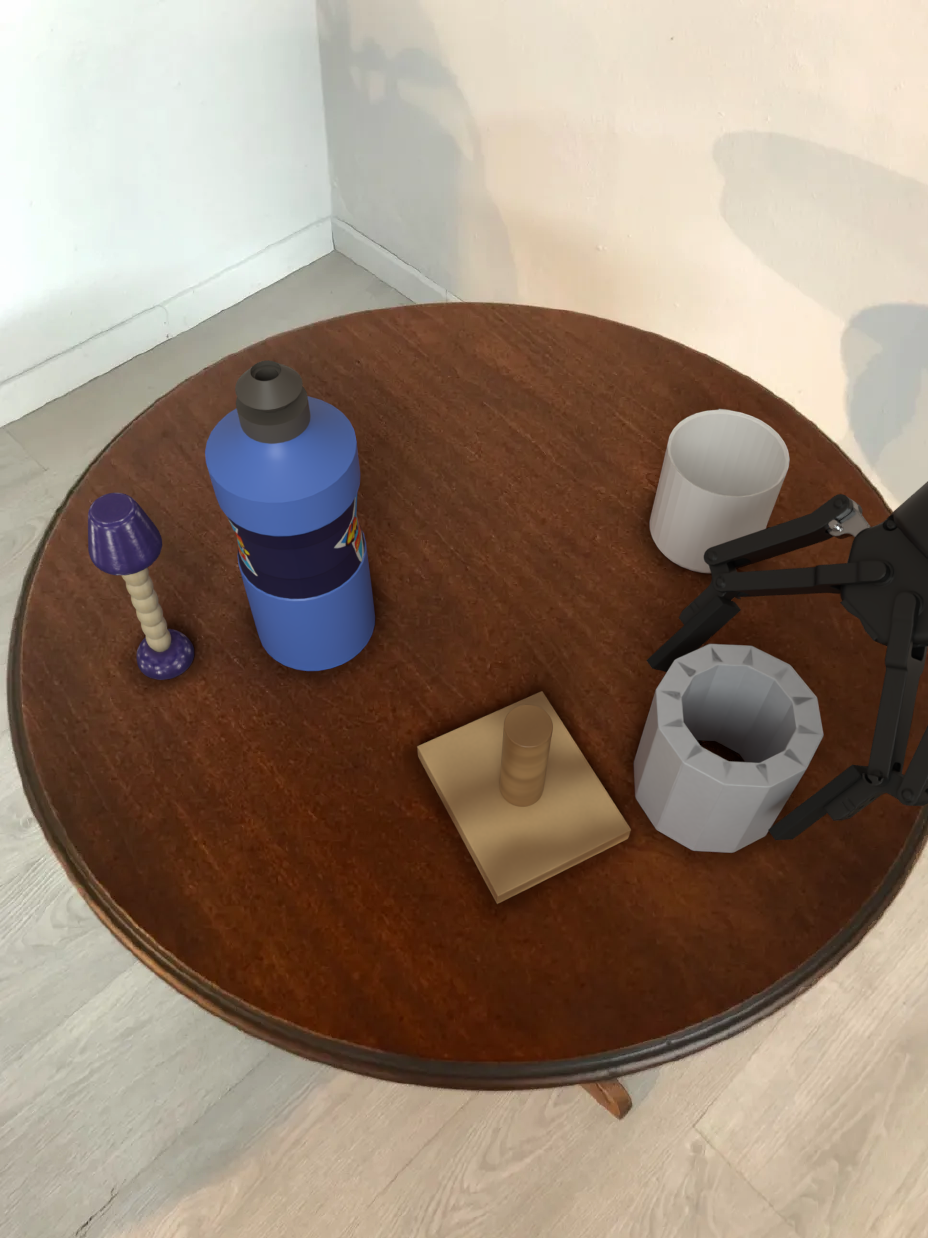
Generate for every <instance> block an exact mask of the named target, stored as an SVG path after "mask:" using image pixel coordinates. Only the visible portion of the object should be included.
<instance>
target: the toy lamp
mask: <svg viewBox="0 0 928 1238" xmlns="http://www.w3.org/2000/svg"><path fill="white" fill-rule="evenodd" d="M89 506H90V507H89V508H88V513H87V547H88V548H87V550H88V555H89V559H90V561H91V562H92V563H93V565H94V566H95V567H96V568H97V569H98V570H100V571H101V572H103V573H106V574H108V575H110V576H111V575H112V576H121V578H122V579H123V580H124V582H125V588H126V590H127V592H128V594H129V595H130V601H131V605H132V606H133V607H134V609H135V612H136V613H135V614H136V617H137V620H138V621H139V622H140V627H141V631H142V632H143V634H144V635H145V637H144V638H143V639H142V640H141V641H140V643H139V644H138V647H137V650H136V663H137V667H138V669H139V671H140V673H142V674H143V675H144V676H145V677H148V678H150V679H153V680H158V681H164V680H172V679H174V678H177V677H179V676H181V675H182V674H183V673H185V672H186V671H187V670H188V669H189V668H190V667H191V665H192V663H193V661H194V660H195V659H194V658H195V648H194V645H193V643H192V641H191V640H190V639H189V637H187V635H185V634H184V633H182V632H181V631H178V630H176V629H173V628H172V629H171V628H168V622H167V620H166V618H165V617H164V611H163V607H162V606H161V604H160V603H159V596H158V592H157V591H156V590H155V589H154V588H155V587H154V582H153V579H152V578H151V576H150V570H149V567H151V566H152V565H153V564H154V563H155V562H156V561H157V560H158V558H159V557H160V555H161V552H162V548H163V537H162V535H161V532H160V530H159V528H158V527H157V526H156V524H155V523H154V522H153V520H152V519H151V518H150V516H149V515H148V513H146V512H145V510H144V509H143V508H142V506H141V505H140V504H139V503H138V502H137V501H136V500H135V498H133V497H132V496H130V495H128V494H127V493H122V492H109V493H104V494H103V495H101V496H99V497H97V498H96V499H95V500H94V501H93V502H92V503H91V505H89Z"/></svg>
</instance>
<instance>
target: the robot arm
mask: <svg viewBox="0 0 928 1238" xmlns="http://www.w3.org/2000/svg"><path fill="white" fill-rule="evenodd" d="M850 537H854V538H853V540H852V543H851V546H850V550H849V554H848V558H847V561H846V562H843V563H828V564H817V565H815V566H809V567H808V566H807V567H794V568H781V569H780V568H779V569H767V570H766V569H764V570H752V571H751V570H749V571H738V569H741V568H745V567H747V566H751V565H753V564H757V563H760V562H763V561H767V560H770V559H772V558H773V559H774V558H776V557H779V556H782V555H786V554H788V553H791V552H794V551H797V550H801V549H803V548H807V547H810V546H813V545H816V544H820V543H823V542H826V541H828V540H830V539H832V538H836V539H838V540H844V539H847V538H850ZM704 561H705V562H706V563H707V564H708V565H709V568H710V571H711V573H710V574H711V580H710V583H709V585H708V586H707V587H706V588H705V589H704V590H703V591H702V592H701V593H700V594H699V595H698V596H697V597H695V598H694V599H693V601H691V602H690V603H689V604H688V605H686V607H685V608H684V609H683V610H682V611H681V612H680V614H679V616H678V619H679V621H680V622H681V623H682V626H681V627H680V629H678V630H677V631H676V632H675V633H674V634H673V635H672V636H671V637H669V639H668V640H666V641H665V642H664V643H663V644H662V645H661V646H660V647H659V648H658V649H657V650H656V651H654V653H652V654H651V655H650V656H649V657H648V658H647V659H646V660H645V661H646V662H647V664H648V665H649V666H650V668H651V669H652V670H656V671H660V672H664V673H665V672H666V673H667V671H668V670H669V668H670V666H671V665H672V663H673V662H674V660H675V659H677V658H680V657H682V656H684V655H686V654H688V653H691V652H693V651H695V650H697V649H700V648H702V647H703V646H704V644H706V642H708V641H709V640H710V639H711V638H712V637H713V636H714V635H715V634H716V633H718V632H719V631H720V630H721V629H722V628H723V627H724V626H725V625H727V624H728V623H729V622H730V621H731V620H732V619H734V618H735V617H736V616H737V615H738V614H739V613H740V612H741V611H742V609H741V608H740V607H739V605H738V604H737V603H736V601H733V600H734V599H737V600H741V599H742V598H754V597H775V596H793V595H794V596H795V595H814V594H815V595H816V594H834V595H839V596H840V600H841V601H840V602H839V603H840V605H841V606H842V607H843V608H844V609H845V610H846V611H847V612H848V613H849V614H850V615H852V616H854V617H855V618H857V619H858V620H859V622H860V623H861V625H862V627H863V630H864V632H865V633H866V634H867V635H868V636H869V637H870V639H871V640H872V641H873V642H875V643H878V644H880V645H882V646H885V647H886V651H885V656H884V665H885V666H884V667H885V673H884V677H883V684H882V689H881V694H880V699H879V705H878V710H877V716H876V721H875V726H874V732H873V737H872V742H871V748H870V749H871V750H870V754H869V759H868V765H861V764H851V765H850V766H848V767H847V768H846V769H844V770H843V771H842V772H840V773H839V774H838V775H837V776H835V777H834V778H833V779H831V780H830V781H829V782H828V783H826V784H825V785H823V786H822V787H821V788H819V790H818V791H816V792H815V793H814V794H812V795H811V796H809V797H808V798H807V799H806V800H805V801H803V802H802V803H800V804H799V805H798V806H797V807H795V808H794V809H793V810H791V811H790V812H789V813H788V814H786V815H785V816H784V817H783V818H781V819H780V820H779V821H777V822H776V823H775V824H773V825H772V826H771V828H770V829H768V833H769V834H770V835H771V836H772V838H773V839H774V841H790V840H794V839H795V838H797V837H798V836H799V835H801V834H802V833H804V831H806V830H807V829H809V828H810V827H811V826H813V825H814V824H815V823H817V822H818V821H819V820H820V819H822V818H823V817H824V816H826V815H828V816H829V817H830V819H831V820H832V822H833V821H834V822H836V821H839V822H842V821H845V820H849V819H852V818H853V817H854V816H855V815H857V814H858V813H860V812H861V811H862V810H864V809H865V808H866V807H868V806H869V805H871V804H872V803H873V802H875V800H877V799H878V798H880V797H881V796H882V795H884V794H888V795H889V796H891V797H893V798H894V799H896V800H898V802H899V803H900V804H902V805H903V806H906V807H907V806H908V807H924V806H926V805H928V725H926V728H925V730H924V732H923V734H922V736H921V738H920V741H919V742H918V745H917V747H916V749H915V752H914V754H913V756H912V758H911V760H910V762H909V764H908V766H907V768H906V771H905V773H904V774H903V770H904V765H905V764H904V763H905V758H906V753H907V748H908V743H909V737H910V732H911V727H912V721H913V716H914V711H915V705H916V699H917V694H918V687H919V684H920V683H919V682H920V678H921V675H923V672H924V669H925V665H926V664H925V663H926V660H927V654H928V481H926V482H925V483H924V484H923V485H921V486H920V487H919V488H918V489H917V490H916V491H915V492H913V494H911V495H910V496H909V497H908V498H907V499H906V500H905V501H903V502H902V503H901V504H900V505H899V506H897V508H895V509H894V510H893V511H892V512H891V513H890V515H889V516H888V517H887V518H886V519H885V520H884V521H882V522H879V523H878V524H876V525H872V526H871V525H870V524H869V522H868V521H867V519H866V518H865V517H864V516H863V508H862V506H861V505H860V504H859V503H857V502H856V501H855V500H853V499H851V498H850V497H849V496H847V495H846V494H843V493H837V494H835V495H833V496H832V497H831V498H830V499H828V500H827V501H826V502H824V503H823V504H821V505H820V506H819V507H817V508H816V509H815V510H814V511H812V512H811V513H808V514H804V515H801V516H799V517H796V518H793V519H790V520H786V521H784V522H781V523H778V524H776V525H772V526H770V527H766V529H763V530H760V531H758V532H755V533H752V534H749V535H746V536H743V537H740V538H737V539H734V540H731V541H728V542H725V543H722V544H719V545H716V546H713V547H710V548H709V549H707V550H706V551H705V553H704Z"/></svg>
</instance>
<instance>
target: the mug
mask: <svg viewBox="0 0 928 1238" xmlns="http://www.w3.org/2000/svg"><path fill="white" fill-rule="evenodd" d="M789 466H790V453H789V449H788V446H787V445H786V442H785V441H784V440H783V438H782V436H781V435H780V434H779V433H778V432H777V431H776V430H775V429H774V428H773V427H772V426H770V425H769V424H767V423H766V422H764V421H763V420H762V419H759V418H757V417H755V416H752V415H750V414H747V413H743V412H740V411H735V410H731V409H725V408H718V409H712V410H711V409H710V410H704V411H700V412H696V413H693V414H691V415H689V416H687V417H685V418H684V419H682V420H681V421H679V423H677V424H676V426H675V427H674V428H673V429H672V431H671V432H670V434H669V437H668V440H667V445H666V449H665V453H664V458H663V461H662V466H661V470H660V475H659V480H658V483H657V488H656V492H655V497H654V500H653V504H652V508H651V509H652V510H651V513H650V517H649V531H650V535H651V538H652V540H653V542H654V543H655V545H656V547H657V549H658V550H659V551H660V552H661V553H662V555H664V557H666V558H667V559H668V560H670V561H671V563H674V564H676V565H677V566H679V567H680V568H684V569H687V570H689V571H691V572H692V571H693V572H696V573H701V574H711V571H710V568H709V565H708V564H707V563H706V562H705V561H704V553H705V551H706V550H707V549H709V548H710V547H713V546H716V545H719V544H722V543H725V542H728V541H731V540H734V539H737V538H740V537H743V536H746V535H749V534H752V533H755V532H758V531H760V530H763V529H766V528H767V525H768V523H769V522H770V518H771V515H772V513H773V510H774V507H775V505H776V502H777V499H778V497H779V494H780V492H781V488H782V486H783V484H784V481H785V479H786V476H787V473H788V470H789V468H790V467H789Z"/></svg>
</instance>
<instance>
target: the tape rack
mask: <svg viewBox="0 0 928 1238" xmlns="http://www.w3.org/2000/svg"><path fill="white" fill-rule="evenodd" d="M416 748H417V757H418V759H419V761H420V763H421V765H422V767H423V768H424V771H425V773H426V775H427V776H428V778H429V780H430V782H431V783H432V785H433V787H434V789H435V790H436V794H437V795H438V796H439V799H440V800H441V802H442V804H443V806H444V809H445V810H446V811H447V814H448V816H449V817H450V819H451V821H452V823H453V825H454V826H455V828H456V831H457V832H458V834H459V836H460V838H461V840H462V841H463V843H464V845H465V847H466V849H467V852H469V854H470V856H471V858H472V860H473V862H474V864H475V865H476V867H477V869H478V871H479V873H480V875H481V877H482V878H483V881H484V883H485V884H486V886H487V888H488V890H489V892H490V893H491V895H492V897H493V899H494V901H495V903H496V904H497V905H498V904H500V903H502V902H504V901H506V900H508V899H510V898H512V897H514V896H516V895H518V894H520V893H523V892H524V891H526V890H529V889H530V888H532V887H535V886H536V885H538V884H541V883H542V882H544V881H546V880H548V879H551V878H552V877H554V876H556V875H558V874H560V873H562V872H564V871H566V870H568V869H570V868H572V867H575V866H576V865H579V864H581V863H582V862H584V861H587V860H588V859H590V858H592V857H594V856H596V855H598V854H600V853H603V852H605V851H607V850H609V849H611V848H612V847H614V846H616V845H619V844H620V843H622V842H624V841H627V840H628V839H629V837H630V835H631V831H632V829H631V827H630V825H629V824H628V822H627V821H626V819H625V818H624V816H623V815H622V813H621V812H620V810H619V809H618V807H617V805H616V804H615V802H614V801H613V799H612V797H611V796H610V794H609V793H608V791H607V790H606V789H605V786H604V785H603V784H602V782H601V780H600V779H599V777H598V775H597V774H596V773H595V771H594V770H593V768H592V766H591V765H590V763H589V762H588V760H587V759H586V757H585V755H584V754H583V752H582V751H581V749H580V747H579V746H578V745H577V743H576V741H575V739H574V738H573V736H572V735H571V734H570V732H569V730H568V729H567V727H566V726H565V724H564V723H563V721H562V720H561V718H560V717H559V715H558V713H557V712H556V710H555V709H554V707H553V706H552V703H551V702H550V701H549V699H548V698H547V696H546V694H545V693H544V692H543V691H539V692H537V693H533V694H532V695H530V696H528V697H525V698H523V699H521V700H519V701H516V702H514V703H512V704H510V705H508V706H504V707H503V708H500V709H498V710H496V711H494V712H491V713H489V714H487V715H485V716H482V717H479V718H478V719H475V720H473V721H471V722H468V723H467V724H464V725H462V726H460V727H458V728H455V729H453V730H450V731H448V732H446V733H444V734H441V735H440V736H437V737H435V738H433V739H431V740H428V741H427V742H426V741H425V742H424V743H422V744H419V745H416Z"/></svg>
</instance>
